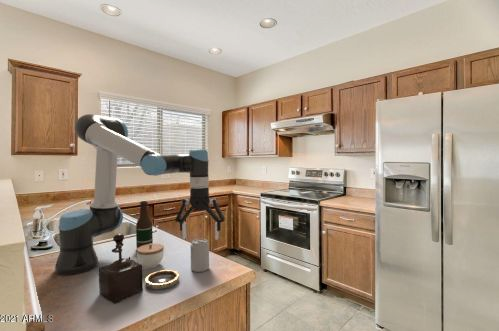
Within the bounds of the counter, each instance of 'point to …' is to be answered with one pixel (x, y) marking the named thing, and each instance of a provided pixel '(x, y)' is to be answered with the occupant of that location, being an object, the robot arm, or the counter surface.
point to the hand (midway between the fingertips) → (200, 238)
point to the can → (199, 255)
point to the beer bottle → (144, 227)
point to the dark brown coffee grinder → (120, 276)
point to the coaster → (162, 280)
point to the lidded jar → (150, 255)
